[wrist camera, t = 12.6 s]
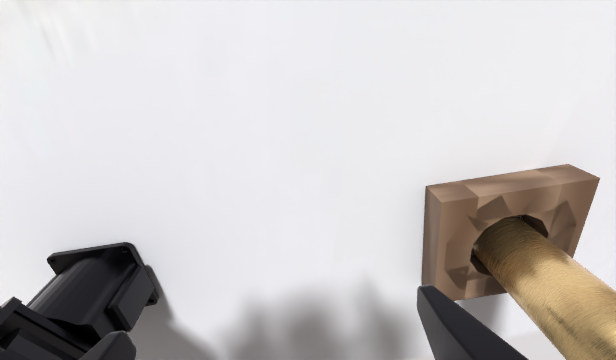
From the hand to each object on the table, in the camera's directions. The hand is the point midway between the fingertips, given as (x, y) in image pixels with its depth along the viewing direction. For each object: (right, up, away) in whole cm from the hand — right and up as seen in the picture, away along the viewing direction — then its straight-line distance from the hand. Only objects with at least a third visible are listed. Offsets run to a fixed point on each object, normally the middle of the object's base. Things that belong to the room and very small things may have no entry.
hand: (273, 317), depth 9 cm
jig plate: (+16, 0, +16) cm, 22 cm away
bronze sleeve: (+16, 0, +16) cm, 22 cm away
